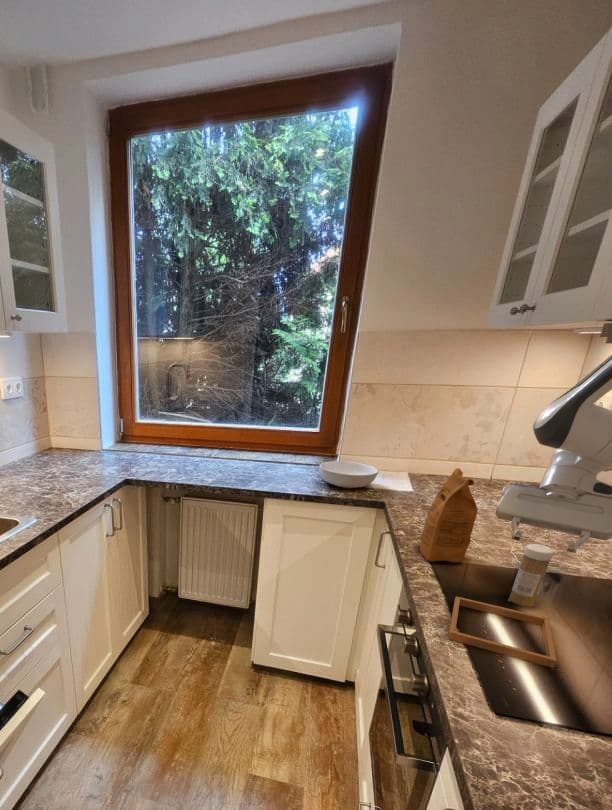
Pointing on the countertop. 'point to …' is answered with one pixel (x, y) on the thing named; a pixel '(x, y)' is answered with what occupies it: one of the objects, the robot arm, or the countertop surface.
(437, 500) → the coffee package
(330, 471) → the serving bowl
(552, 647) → the wooden frame
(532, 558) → the sprinkles bottle
